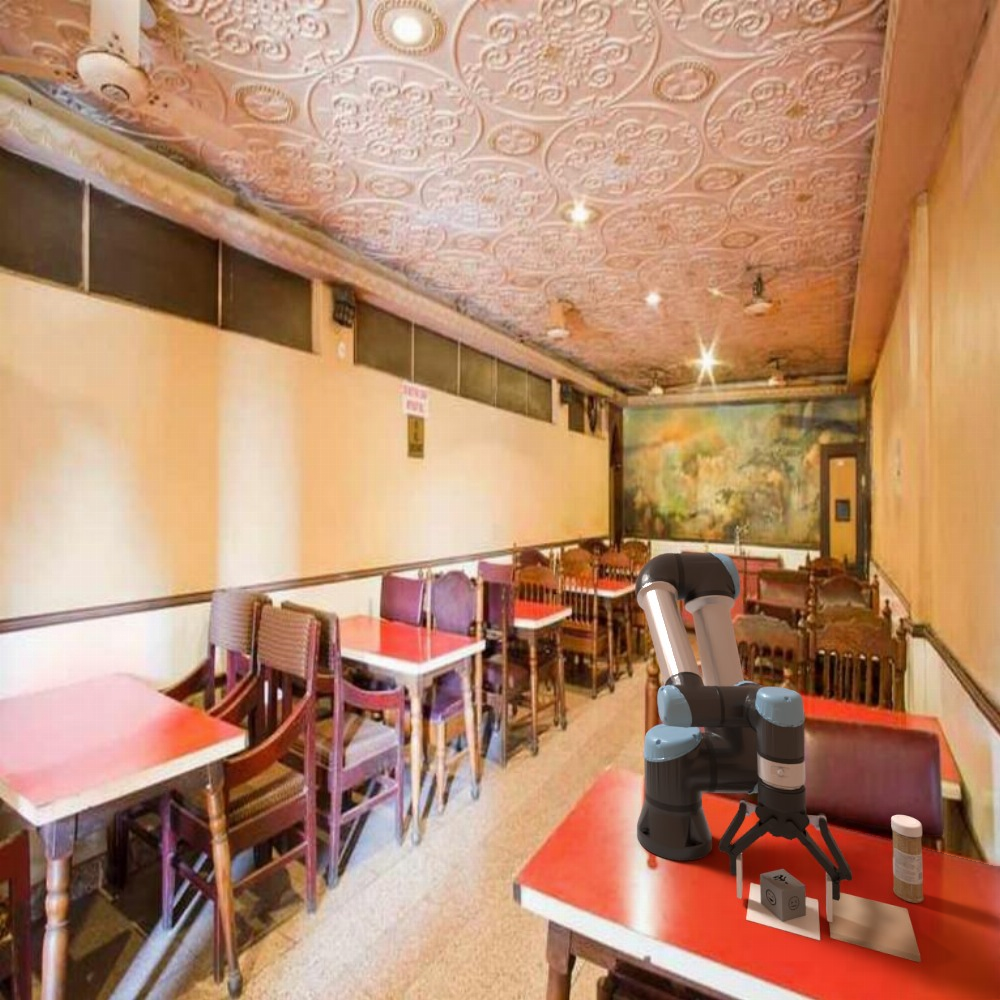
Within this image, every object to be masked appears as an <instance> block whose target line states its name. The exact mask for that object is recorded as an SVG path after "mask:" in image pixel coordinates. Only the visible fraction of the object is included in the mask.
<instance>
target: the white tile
mask: <svg viewBox="0 0 1000 1000" xmlns="http://www.w3.org/2000/svg"><path fill="white" fill-rule="evenodd" d="M749 886H750V887H749V895H748V902H747V910H746V917H745V918H746V919H745V920H746V921H749V922H752V923H755V924H759V925H763V926H766V927H769V928H774V929H777V930H779V931H785V932H788V933H791V934H795V935H797V936H798V935H799V936H802V937H805V938H809V939H813V940H816V941H821V931H820V913H819V900H818V899H816V898H811V897H808V896H806V915H805V916H802V917H798V918H794V919H791V920H787V921H784V922H782V921H781V920H780V919H779V918H777V917H776V916H775V915H774V914H773V913H772V912H770V911H769V910H768V909H767V908H766V907H765V906H763V905H762V904H761V894H760V884H757V883H753V882H750V885H749Z"/></svg>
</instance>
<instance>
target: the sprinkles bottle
mask: <svg viewBox="0 0 1000 1000" xmlns="http://www.w3.org/2000/svg"><path fill="white" fill-rule="evenodd" d="M890 821H891V822H890V824H891V831H892V873H893V887H892V888H893V892H894V894H895V896H897V897H898V898H899V899H902V900H903V901H905V902H908V903H915V904H918V903H922V902H923V901H924V900H925V899H924V895H923V891H924V889H923V888H924V887H923V882H924V881H923V880H924V878H923V876H924V874H923V851H922V837H923V825H922V823H921V822H920V821H919V820H918V819H916V818H914V817H913V816H908V815H904V814H895V815H892V816H891V818H890Z"/></svg>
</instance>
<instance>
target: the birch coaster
mask: <svg viewBox="0 0 1000 1000" xmlns="http://www.w3.org/2000/svg"><path fill="white" fill-rule="evenodd" d="M832 916H833V922H829V921H828V924H829V926H828V927H829V937H830V939H834V940H837V941H841V942H845V943H848V944H852V945H856V946H859V947H862V948H865V949H869V950H873V951H877V952H881V953H884V954H889V955H891V956H895V957H899V958H902V959H907V960H909V961H914V962H917V963H921V961H922V960H921V954H920V953H921V952H920V950H919V947H918V942H917V940H916V935H915V932H914V928H913V925H912V924H913V923H912V921H911V918H910V915H909V911H908V908H905V907H901V906H897V905H892V904H889V903H885V902H881V901H878V900H873V899H868V898H865V897H860V896H856V895H852V894H849V893H848V894H847V893H845V892H841V891H840V899H839V901H837V900H834V899H832Z"/></svg>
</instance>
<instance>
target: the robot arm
mask: <svg viewBox="0 0 1000 1000" xmlns="http://www.w3.org/2000/svg"><path fill="white" fill-rule="evenodd" d="M740 584H741V578H740V574H739V570H738V568H737V566H736V564H735V562H734V560H733V558H731V556H729V555H728V554H725V553H721V552H720V553H717V552H712V551H711V552H710V551H709V552H691V553H690V552H687V553H686V552H681V553H679V552H677V553H676V552H675V553H673V552H666V553H660V554H658V555H655V556H654V557H652V558H651V559H649V560H648V561H647V562H646V563H645V564H644V565H643V567H642V568H641V569H640V571H639V572H638V575H637V579H636V580H635V589H634V590H635V591H634V592H635V597H636V601H637V604H638V606H639V607H640V608H641V609H642V610H643V612H644V615H645V619H646V622H647V626H648V629H649V633H650V637H651V640H652V644H653V647H654V651H655V655H656V659H657V662H658V668H659V669H660V674H661V678H662V681H663V684H664V685H662V686H660V687H659V688H658V691H657V696H656V697H657V698H656V699H657V700H656V701H657V709H658V711H657V712H658V715H659V718H660V721H661V722H662V723H660V724H656V725H654V726H653V727H651V728H650V729H648V731H647V732H646V734H645V737H644V745H643V751H642V753H643V757H644V758H643V759H644V762H643V764H644V767H643V768H644V801H643V804H642V806H641V807H642V808H641V810H640V813H639V817H638V820H637V824H636V837H637V840H638V842H639V844H640V845H641V846H642V847H643V848H644V849H646V850H647V852H650V853H652V854H654V855H656V856H658V857H662V858H664V859H667V860H673V861H694V860H698V859H703V858H704V857H706V856H707V855H708V854H709V853H711V851H712V848H713V841H712V839H713V838H712V837H713V836H712V832H711V828H710V826H709V823H708V820H707V817H706V814H705V811H704V808H703V794H704V793H707V794H711V793H713V794H718V793H719V794H721V793H722V794H723V793H724V794H747V795H753V794H757V803H756V804H755V803H751V802H748V801H747V799H746V798H743V797H742V798H740V799H739V806H738V810H737V812H736V813H735V815H734V816H733V818H732V820H731V821H730V823H729V825H728V827H727V828H726V829H725V832H723V834H722V836H721V838H720V840H719V844H718V851H719V852H721V853H726V854H727V855H728V857H729V873H730V876H731V875H732V876H735V877H736V898H737V899H742V897H743V891H744V890H743V853H744V851H746V849H748V848H749V847H750V846H751V845H753V844H754V843H755V842H756V841H757V840H759V838H762V837H764V835H766V834H767V833H769V834H770V835H772V837H775V838H784V839H787V840H789V841H793V840H794V839H797V841H799V843H801V845H802V846H804V847H805V848H806V850H808V852H809V854H811V855H812V857H813V858H814V859H815V861H817V863H818V864H819V865H820V866H821V868H822V869H823V870H824V872H825V904H826V905H825V906H826V909H825V910H826V911H825V912H826V913H825V914H826V920H827V922H828V923H829V922H833V916H832V899H834V900H837V901H839V899H840V892H841V885H840V884H841V883H842V882H841V881H844V880H846V881H847V882H851V881H852V880H853V874H852V868H851V867H850V865H849V863H848V862H847V860H846V858H845V856H844V854H843V853H842V852H843V851H842V850H841V848H840V847H839V845H838V843H837V841H836V839H835V837H834V836H833V834H832V832H831V831H830V829H829V826H828V820H827V816H826V814H825V813H822V812H820V813H818V815H813V814H812V815H809V814H808V812H807V799H806V797H807V793H806V791H807V790H806V787H805V785H804V784H805V783H806V759H805V757H806V756H805V753H806V752H805V747H806V746H805V743H806V742H805V720H806V713H805V709H804V699H803V697H802V695H801V694H800V693H799V692H797V691H796V690H793V689H789V688H785V687H780V686H763V685H762V684H761V685H760V684H759V683H756V682H754V681H750V680H745V679H744V674H743V668H742V664H741V659H740V654H739V649H738V644H737V641H736V640H737V639H736V635H735V631H734V629H735V628H734V624H733V621H732V613H731V610H732V609H733V608H734V607H735V605H736V601H735V600H737V599H738V598H739V597H740V594H741V585H740ZM678 601H683V603H684V605H683V606H684V609H685V610H686V611H687V612H688V613H689V614H691V615H692V618H693V625H694V632H695V637H696V642H697V648H698V649H697V650H698V655H699V662H700V666H701V672H702V673H701V672H700V668H699V666H698V662H697V659H696V656H695V654H694V651H693V647H692V644H691V642H690V639H689V637H688V633H687V630H686V628H685V625H684V621H683V618H682V615H681V613H680V610H679V607H678V603H677V602H678ZM700 728H703V729H704V732H702V731H701V729H700ZM752 813H755V815H756V817H757V819H758V821H757V822H756V823H755V824H754V825H753V826H752V827H750V829H748V830H747V831H745V833H744V834H743V835H741V836H740V837H739V838H738V839H736V840H735V842H733V843H732V841H733V839H734V838H735V836H736V834H737V833H738V831H739V829H740V828H741V826H742V824H744V821H745V819H746V817H750V816H751V815H752ZM809 825H813V826H814V829H815V830H816V831H819V832H820V834H821V837H822V839H823V842H824V843H825V845H826V846H827V849H828V850H829V853H830V854H831V856H832V858H833V860H834V862H835V864H836V865H837V866H836V865H835V864H834V862H833V861H832V859H830V858H829V857H828V856H827V854H826V853H825V852H824V850H823V849H822V848H821V847H820V846H819V844H818V843H817V842H816V841H815V839H813V838H812V836H811V835H810V833H809V832H808V830H807V829H806V828H808V827H809Z"/></svg>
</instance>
